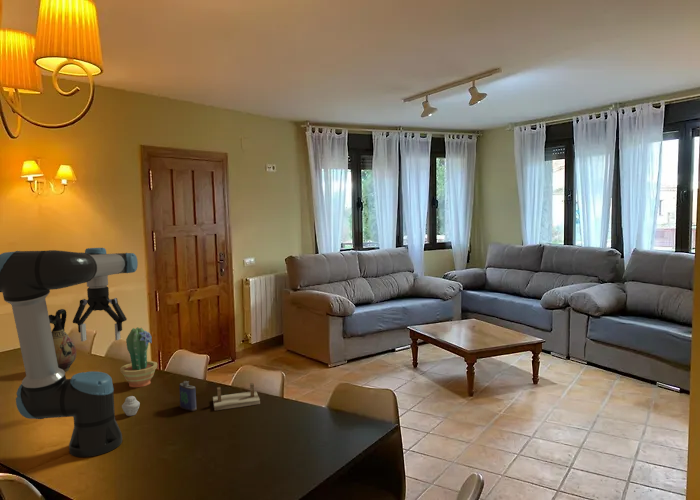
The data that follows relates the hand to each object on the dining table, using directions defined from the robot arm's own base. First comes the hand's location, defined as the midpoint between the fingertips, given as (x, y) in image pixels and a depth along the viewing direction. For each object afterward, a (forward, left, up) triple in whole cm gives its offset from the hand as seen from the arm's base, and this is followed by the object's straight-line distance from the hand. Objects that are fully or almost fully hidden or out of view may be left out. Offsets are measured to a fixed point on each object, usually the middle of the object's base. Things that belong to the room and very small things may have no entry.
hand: (100, 340), depth 195 cm
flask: (-20, -32, -25) cm, 45 cm away
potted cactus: (+18, -12, -25) cm, 33 cm away
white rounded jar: (-18, -12, -25) cm, 33 cm away
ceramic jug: (+55, +27, -25) cm, 66 cm away
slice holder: (-21, -50, -25) cm, 59 cm away
